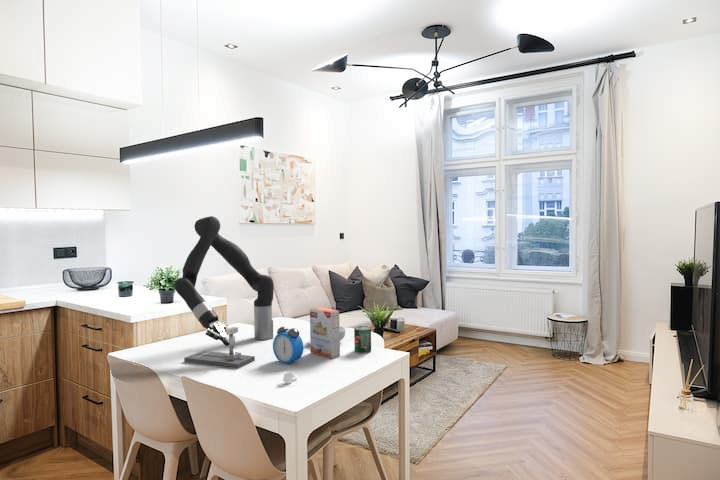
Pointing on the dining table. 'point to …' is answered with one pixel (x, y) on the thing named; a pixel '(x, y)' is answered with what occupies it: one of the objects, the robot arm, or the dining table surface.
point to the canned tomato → (362, 339)
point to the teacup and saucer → (289, 379)
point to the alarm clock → (287, 345)
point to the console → (218, 359)
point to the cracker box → (324, 332)
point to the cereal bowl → (342, 332)
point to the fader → (232, 344)
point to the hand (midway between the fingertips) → (228, 344)
